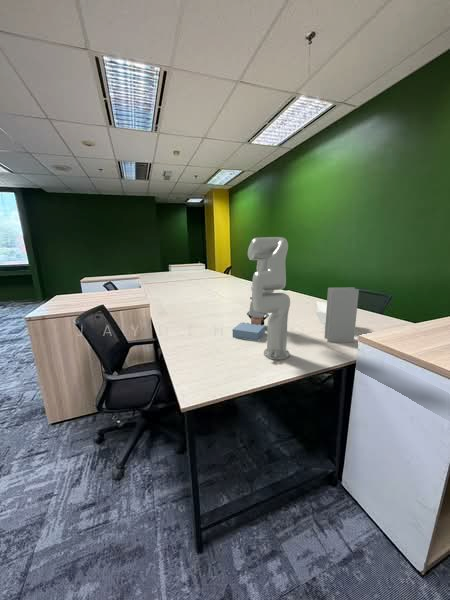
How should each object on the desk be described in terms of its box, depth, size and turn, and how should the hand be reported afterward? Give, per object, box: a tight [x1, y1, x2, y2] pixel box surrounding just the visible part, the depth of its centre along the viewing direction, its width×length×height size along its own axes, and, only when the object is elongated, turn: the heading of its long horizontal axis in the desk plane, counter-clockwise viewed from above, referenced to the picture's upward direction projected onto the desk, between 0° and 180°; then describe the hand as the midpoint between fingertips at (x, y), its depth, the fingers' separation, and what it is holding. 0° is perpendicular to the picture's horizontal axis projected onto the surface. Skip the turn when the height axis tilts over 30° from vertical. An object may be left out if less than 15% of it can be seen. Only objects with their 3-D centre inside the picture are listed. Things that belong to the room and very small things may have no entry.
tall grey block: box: [323, 287, 360, 343], centre depth 135 cm, size 14×6×30 cm, turn 84°
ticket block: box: [232, 322, 266, 342], centre depth 148 cm, size 15×16×5 cm
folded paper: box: [314, 300, 327, 325], centre depth 160 cm, size 17×24×17 cm
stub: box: [250, 317, 262, 325], centre depth 163 cm, size 9×6×6 cm, turn 154°
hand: (257, 325), depth 163 cm, fingers closed on stub, 6 cm apart
